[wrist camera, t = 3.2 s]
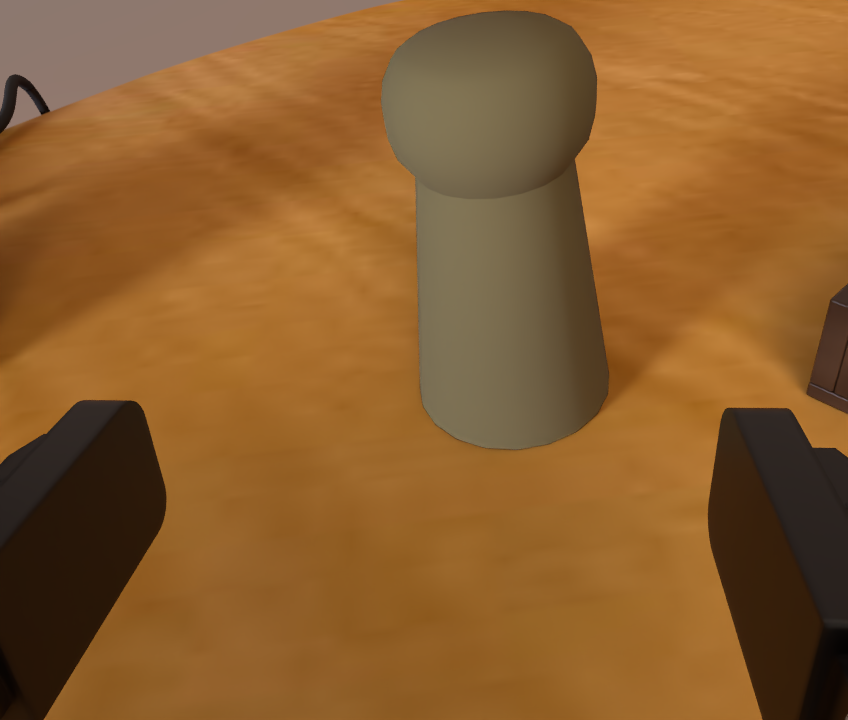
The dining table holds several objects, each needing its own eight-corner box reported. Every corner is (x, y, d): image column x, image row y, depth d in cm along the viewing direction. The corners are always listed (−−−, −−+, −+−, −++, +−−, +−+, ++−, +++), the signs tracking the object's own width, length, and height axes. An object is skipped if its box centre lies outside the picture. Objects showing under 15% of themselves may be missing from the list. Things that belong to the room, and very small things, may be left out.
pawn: (597, 314, 27) (599, -29, 19) (622, 443, 22) (638, 57, 15) (424, 328, 27) (365, 4, 20) (414, 455, 23) (334, 94, 16)
